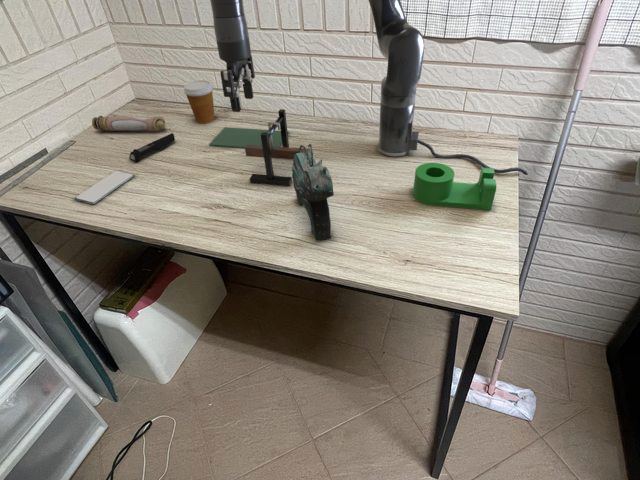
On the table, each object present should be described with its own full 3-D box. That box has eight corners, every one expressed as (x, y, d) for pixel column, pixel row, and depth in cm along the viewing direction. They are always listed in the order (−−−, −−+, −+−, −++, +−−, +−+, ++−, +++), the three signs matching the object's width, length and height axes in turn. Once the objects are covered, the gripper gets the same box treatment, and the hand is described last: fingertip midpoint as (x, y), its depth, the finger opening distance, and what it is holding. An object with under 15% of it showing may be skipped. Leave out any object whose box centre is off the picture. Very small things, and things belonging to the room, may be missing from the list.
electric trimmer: (179, 143, 134) (176, 134, 132) (136, 163, 125) (132, 153, 123) (171, 140, 136) (169, 131, 134) (129, 160, 127) (125, 150, 125)
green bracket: (412, 203, 102) (414, 180, 98) (413, 183, 109) (416, 161, 105) (490, 210, 99) (496, 186, 95) (487, 189, 106) (493, 166, 102)
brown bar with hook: (310, 157, 115) (308, 122, 108) (309, 160, 113) (306, 125, 107) (248, 153, 119) (242, 119, 112) (246, 156, 117) (239, 122, 111)
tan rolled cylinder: (103, 126, 146) (97, 112, 143) (171, 127, 143) (167, 113, 140) (94, 133, 142) (88, 119, 139) (164, 134, 139) (160, 120, 136)
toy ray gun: (338, 242, 93) (335, 160, 80) (309, 248, 92) (302, 167, 79) (313, 194, 108) (307, 119, 95) (288, 199, 107) (279, 124, 94)
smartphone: (73, 198, 111) (115, 170, 121) (74, 199, 111) (116, 171, 122) (93, 203, 109) (134, 174, 119) (93, 205, 109) (135, 175, 119)
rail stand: (270, 153, 126) (264, 107, 117) (306, 156, 123) (302, 109, 114) (250, 183, 114) (241, 134, 105) (289, 186, 111) (284, 137, 102)
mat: (288, 133, 136) (288, 131, 135) (277, 150, 127) (276, 149, 126) (225, 128, 140) (224, 127, 140) (209, 145, 131) (209, 144, 131)
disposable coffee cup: (186, 123, 145) (176, 88, 137) (201, 112, 152) (193, 78, 144) (209, 127, 142) (201, 91, 134) (224, 115, 149) (217, 81, 141)
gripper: (235, 45, 92) (246, 117, 102) (258, 28, 103) (266, 94, 113) (203, 44, 94) (218, 115, 104) (229, 28, 104) (240, 93, 115)
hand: (243, 104), depth 108 cm, fingers open, 8 cm apart
